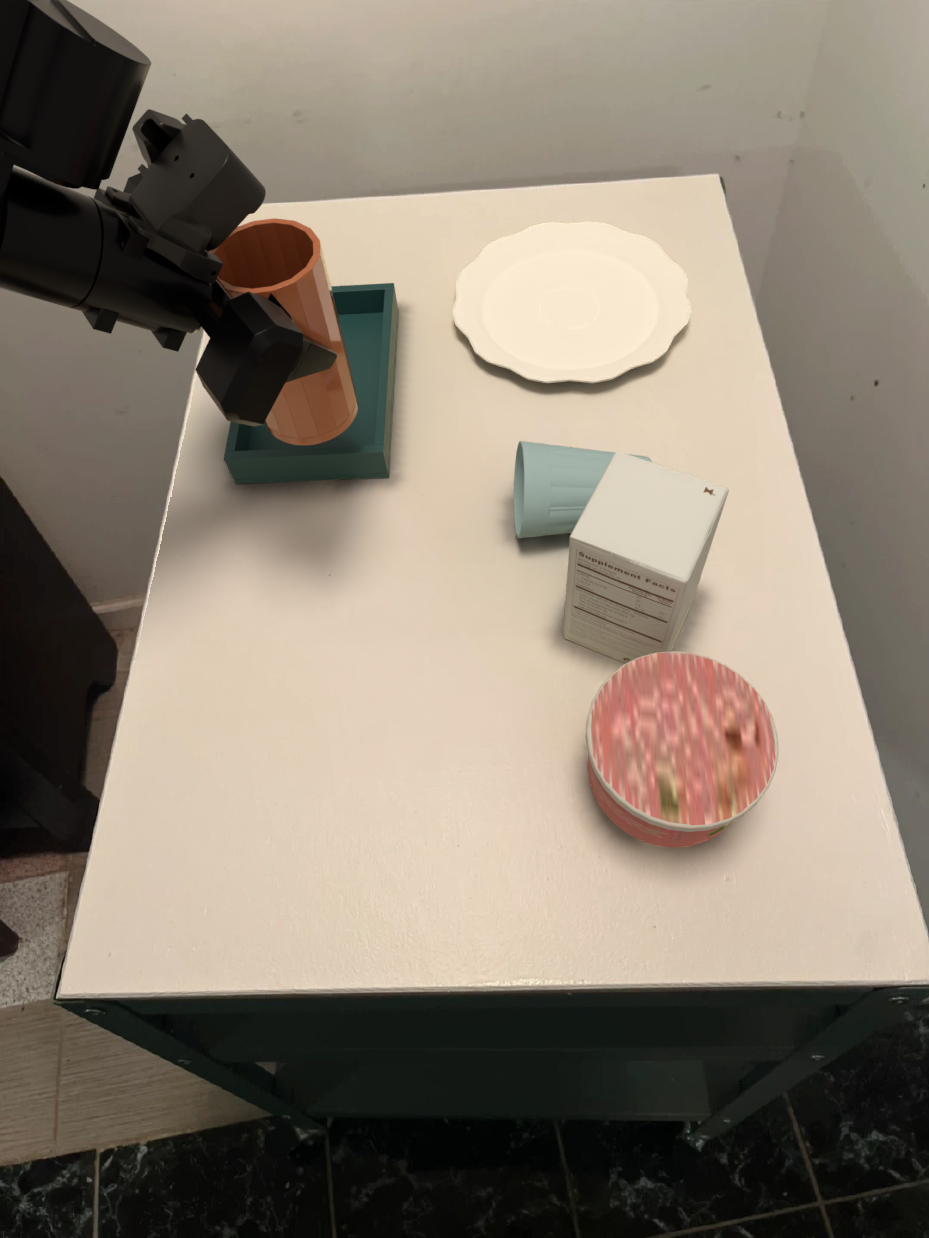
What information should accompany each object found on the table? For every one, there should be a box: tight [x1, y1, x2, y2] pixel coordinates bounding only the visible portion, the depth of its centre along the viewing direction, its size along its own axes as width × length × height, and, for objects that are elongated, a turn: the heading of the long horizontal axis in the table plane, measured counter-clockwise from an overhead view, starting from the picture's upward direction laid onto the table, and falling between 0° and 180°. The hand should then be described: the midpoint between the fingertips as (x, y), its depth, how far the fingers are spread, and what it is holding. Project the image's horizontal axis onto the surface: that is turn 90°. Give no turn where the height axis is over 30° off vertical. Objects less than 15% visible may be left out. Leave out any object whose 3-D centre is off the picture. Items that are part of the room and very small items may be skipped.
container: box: [585, 650, 780, 849], centre depth 49 cm, size 10×10×8 cm
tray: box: [223, 282, 399, 485], centre depth 70 cm, size 20×13×3 cm, turn 0°
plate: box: [451, 220, 692, 384], centre depth 74 cm, size 21×21×2 cm
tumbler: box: [208, 218, 358, 445], centre depth 56 cm, size 7×7×13 cm
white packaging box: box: [562, 451, 730, 664], centre depth 53 cm, size 7×7×13 cm
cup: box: [513, 440, 653, 539], centre depth 61 cm, size 7×7×10 cm
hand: (307, 329), depth 56 cm, fingers closed on tumbler, 7 cm apart
